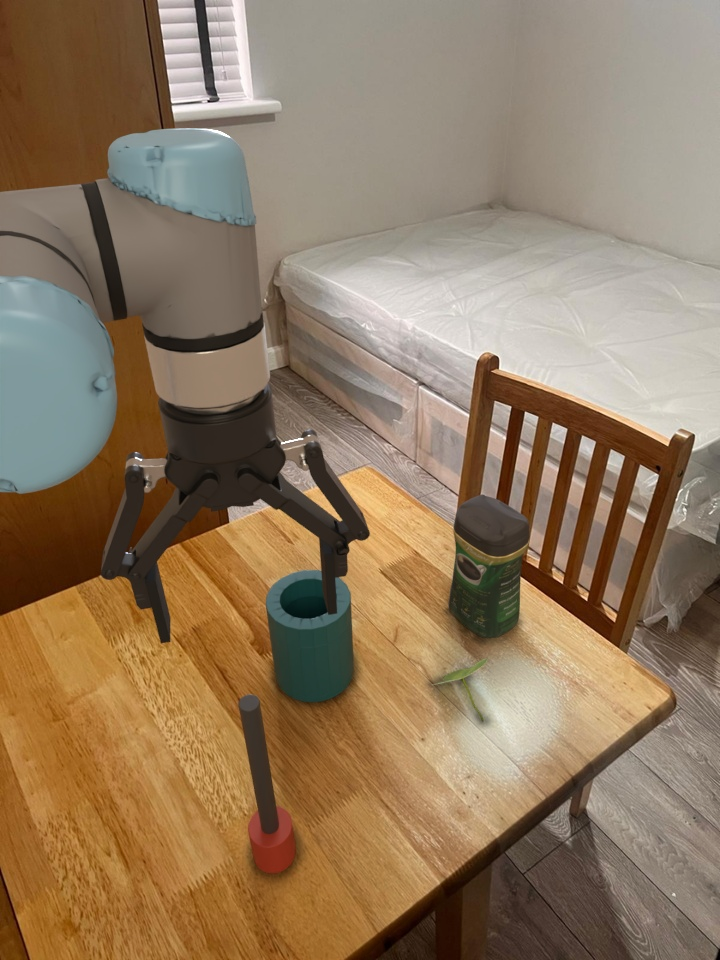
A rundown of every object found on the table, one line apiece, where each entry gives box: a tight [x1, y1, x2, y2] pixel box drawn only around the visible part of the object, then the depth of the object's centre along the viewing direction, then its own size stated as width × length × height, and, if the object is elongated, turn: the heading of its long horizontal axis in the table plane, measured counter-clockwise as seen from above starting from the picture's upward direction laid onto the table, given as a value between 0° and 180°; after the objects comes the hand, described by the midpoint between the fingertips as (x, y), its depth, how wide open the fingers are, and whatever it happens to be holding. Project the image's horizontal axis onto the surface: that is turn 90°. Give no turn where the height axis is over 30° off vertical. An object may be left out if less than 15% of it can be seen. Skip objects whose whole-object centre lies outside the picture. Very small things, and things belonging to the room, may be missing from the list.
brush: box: [238, 694, 297, 874], centre depth 69 cm, size 4×4×24 cm
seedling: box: [432, 657, 489, 722], centre depth 90 cm, size 7×8×7 cm
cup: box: [265, 569, 355, 703], centre depth 92 cm, size 10×10×13 cm
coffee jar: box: [448, 493, 530, 639], centre depth 97 cm, size 10×8×19 cm
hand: (249, 617), depth 61 cm, fingers open, 13 cm apart
